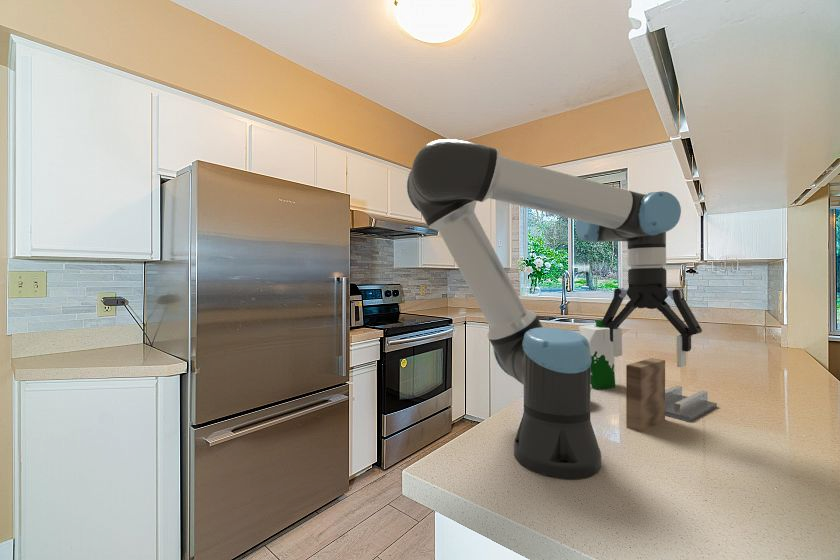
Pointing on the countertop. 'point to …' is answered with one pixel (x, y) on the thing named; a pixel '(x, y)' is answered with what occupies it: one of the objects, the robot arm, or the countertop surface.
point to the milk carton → (600, 355)
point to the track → (686, 404)
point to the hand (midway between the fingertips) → (647, 360)
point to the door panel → (645, 394)
